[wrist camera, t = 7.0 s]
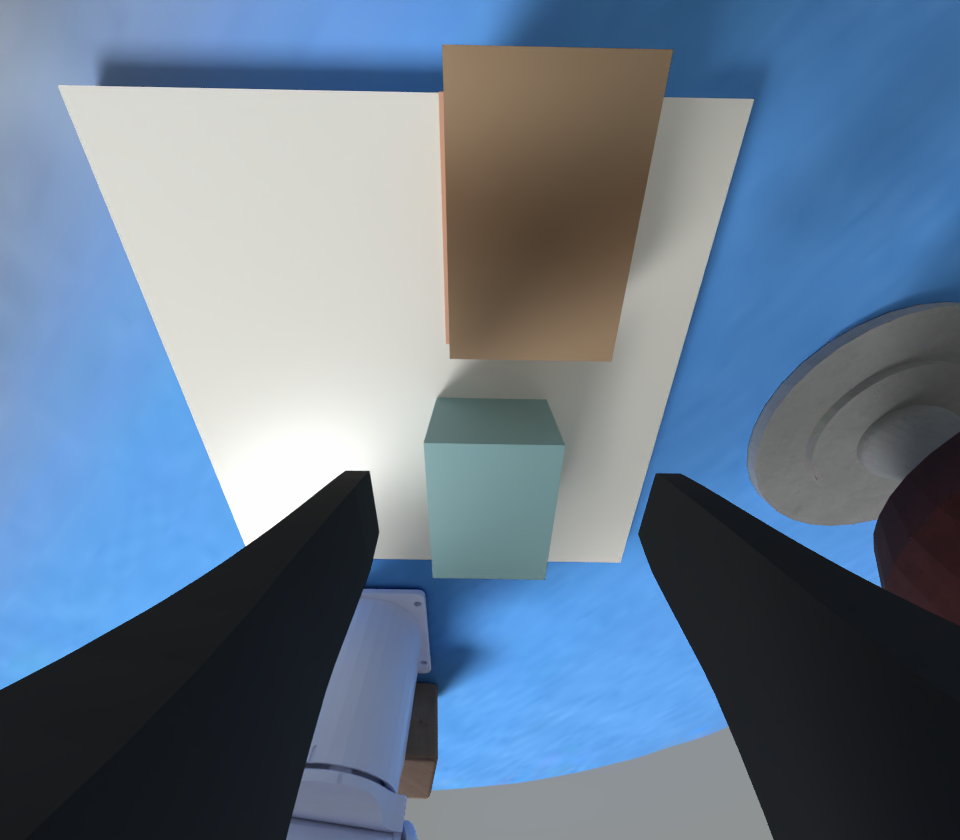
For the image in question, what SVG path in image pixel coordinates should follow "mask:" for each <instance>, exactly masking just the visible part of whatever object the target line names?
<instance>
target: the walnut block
mask: <svg viewBox="0 0 960 840" xmlns="http://www.w3.org/2000/svg"><path fill="white" fill-rule="evenodd" d="M672 54H673V49H626V48H578V47H531V46H483V45H442V55H443V97H444V139H445V180H446V222H447V264H448V306H449V348H450V359H479V360H535V361H592V362H612V357H613V352H614V347H615V342H616V337H617V332H618V327H619V322H620V316H621V311H622V306H623V301H624V296H625V291H626V286H627V281H628V276H629V271H630V266H631V261H632V256H633V251H634V246H635V241H636V236H637V231H638V226H639V220H640V215H641V210H642V205H643V200H644V195H645V190H646V185H647V180H648V175H649V170H650V165H651V160H652V155H653V150H654V145H655V140H656V135H657V129H658V124H659V119H660V114H661V109H662V104H663V99H664V94H665V89H666V84H667V79H668V74H669V69H670V64H671V59H672Z"/></svg>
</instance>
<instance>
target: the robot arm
mask: <svg viewBox="0 0 960 840" xmlns="http://www.w3.org/2000/svg"><path fill="white" fill-rule="evenodd" d="M638 535H639V538H640V541H641V544H642V546H643V549H644V552H645V555H646V558H647V560H648V563H649V565H650V568H651V570H652V573H653V575H654V577H655V579H656V581H657V583H658V585H659V587H660V589H661V590H662V592H663V594H664V596H665V598H666V600H667V602H668V604H669V606H670V608H671V610H672V612H673V613H674V615H675V617H676V619H677V621H678V623H679V625H680V627H681V629H682V630H683V632H684V634H685V636H686V638H687V640H688V642H689V644H690V646H691V647H692V649H693V651H694V653H695V655H696V657H697V659H698V661H699V663H700V665H701V666H702V668H703V670H704V672H705V674H706V677H707V679H708V681H709V683H710V685H711V687H712V689H713V691H714V693H715V695H716V698H717V700H718V702H719V705H720V707H721V709H722V712H723V714H724V716H725V719H726V721H727V724H728V726H729V728H730V731H731V733H732V735H733V738H734V740H735V742H736V745H737V747H738V749H739V752H740V754H741V757H742V760H743V762H744V764H745V767H746V770H747V772H748V775H749V777H750V780H751V782H752V785H753V787H754V790H755V792H756V795H757V797H758V800H759V802H760V804H761V807H762V809H763V812H764V815H765V817H766V820H767V823H768V826H769V828H770V831H771V834H772V836H773V839H774V840H960V626H959V625H957V624H955V623H953V622H950V621H948V620H946V619H944V618H942V617H940V616H938V615H935V614H933V613H931V612H929V611H927V610H925V609H923V608H921V607H919V606H917V605H915V604H913V603H911V602H909V601H907V600H905V599H903V598H901V597H899V596H897V595H895V594H893V593H891V592H889V591H887V590H885V589H883V588H881V587H879V586H877V585H875V584H873V583H871V582H869V581H867V580H865V579H863V578H861V577H860V576H858V575H856V574H854V573H852V572H850V571H848V570H846V569H844V568H843V567H841V566H839V565H837V564H835V563H834V562H832V561H830V560H828V559H826V558H825V557H823V556H821V555H819V554H817V553H816V552H814V551H812V550H810V549H808V548H807V547H805V546H803V545H801V544H800V543H798V542H796V541H794V540H793V539H791V538H789V537H787V536H786V535H784V534H782V533H781V532H779V531H777V530H776V529H774V528H772V527H770V526H769V525H767V524H765V523H764V522H762V521H760V520H759V519H757V518H755V517H754V516H752V515H750V514H749V513H747V512H746V511H744V510H742V509H741V508H739V507H737V506H736V505H734V504H732V503H731V502H729V501H727V500H726V499H724V498H722V497H721V496H719V495H717V494H716V493H714V492H712V491H711V490H709V489H707V488H706V487H704V486H702V485H701V484H699V483H697V482H695V481H693V480H692V479H690V478H688V477H686V476H684V475H682V474H668V473H656V475H655V478H654V482H653V485H652V488H651V492H650V495H649V499H648V502H647V506H646V509H645V513H644V516H643V519H642V523H641V526H640V530H639V533H638ZM378 537H379V526H378V519H377V513H376V507H375V501H374V494H373V488H372V482H371V476H370V471H344V472H343V473H341V474H340V475H339V476H337V477H336V478H335V479H333V480H332V481H331V482H330V483H328V484H327V485H326V486H325V487H323V488H322V489H321V490H319V491H318V492H317V493H316V494H314V495H313V496H312V497H311V498H309V499H308V500H307V501H306V502H304V503H303V504H302V505H301V506H299V507H298V508H297V509H295V510H294V511H293V512H292V513H290V514H289V515H288V516H286V517H285V518H284V519H282V520H281V521H280V522H279V523H277V524H276V525H275V526H273V527H272V528H271V529H269V530H268V531H266V532H265V533H264V534H262V535H261V536H259V537H258V538H257V539H255V540H254V541H252V542H251V543H250V544H248V545H247V546H245V547H244V548H243V549H241V550H240V551H239V552H237V553H236V554H234V555H233V556H232V557H230V558H229V559H227V560H226V561H224V562H223V563H221V564H220V565H218V566H217V567H215V568H214V569H212V570H211V571H209V572H208V573H206V574H205V575H203V576H202V577H200V578H199V579H197V580H195V581H194V582H192V583H191V584H189V585H187V586H186V587H184V588H183V589H181V590H179V591H178V592H176V593H175V594H173V595H171V596H170V597H168V598H167V599H165V600H163V601H162V602H160V603H158V604H157V605H155V606H153V607H152V608H150V609H148V610H147V611H145V612H143V613H141V614H139V615H138V616H136V617H134V618H132V619H131V620H129V621H127V622H125V623H123V624H122V625H120V626H118V627H116V628H115V629H113V630H111V631H109V632H108V633H106V634H104V635H102V636H100V637H99V638H97V639H95V640H93V641H92V642H90V643H88V644H86V645H84V646H83V647H81V648H79V649H77V650H76V651H74V652H72V653H70V654H68V655H66V656H65V657H63V658H61V659H59V660H57V661H55V662H53V663H51V664H50V665H48V666H46V667H44V668H42V669H40V670H38V671H36V672H34V673H32V674H30V675H28V676H27V677H25V678H23V679H21V680H19V681H17V682H15V683H13V684H11V685H9V686H7V687H5V688H3V689H1V690H0V840H418V839H417V835H416V831H415V828H414V826H413V824H412V823H411V822H410V821H408V820H404V816H405V808H406V801H407V797H406V796H405V795H401V794H397V793H398V787H399V780H400V777H401V774H402V770H403V766H404V761H405V754H406V747H407V741H408V734H409V727H410V720H411V714H412V707H413V700H414V694H415V687H416V680H417V673H429V672H430V671H431V656H430V644H429V633H428V621H427V609H426V598H425V593H424V592H423V591H421V590H410V589H364V586H365V583H366V581H367V578H368V575H369V572H370V569H371V566H372V562H373V558H374V554H375V550H376V545H377V541H378Z"/></svg>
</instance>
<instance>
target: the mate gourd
mask: <svg viewBox="0 0 960 840" xmlns="http://www.w3.org/2000/svg"><path fill="white" fill-rule="evenodd" d="M747 467H748V472H749V476H750V481H751V482H752V484H753V486H754V488H755V489H756V491H757V493H758V494H759V495H760V496H761V497H762V498H763V499H764V500H765V501H766V502H768V503H769V504H770V505H771V506H772V507H773V508H774V509H775V510H776V511H777V512H779V513H781V514H783V515H785V516H787V517H789V518H791V519H793V520H796V521H800V522H804V523H808V524H814V525H827V526H833V525H848V524H856V523H861V522H866V521H871V520H876V519H878V520H877V523H876V527H875V530H874V552H875V557H876V562H877V567H878V572H879V577H880V582H881V587H882V588H883V589H885V590H887V591H889V592H891V593H893V594H895V595H897V596H899V597H901V598H903V599H905V600H907V601H909V602H911V603H913V604H915V605H917V606H919V607H921V608H923V609H925V610H927V611H929V612H931V613H933V614H935V615H938V616H940V617H942V618H944V619H946V620H948V621H950V622H953V623H955V624H957V625H959V626H960V303H956V302H940V303H930V304H919V305H915V306H911V307H908V308H904V309H900V310H897V311H893V312H889V313H886V314H884V315H881V316H879V317H877V318H874V319H872V320H870V321H867V322H865V323H863V324H860V325H858V326H856V327H854V328H853V329H851V330H849V331H847V332H846V333H844V334H842V335H841V336H839V337H837V338H836V339H834V340H832V341H831V342H829V343H827V344H826V345H825V346H823V347H822V348H821V349H820V350H818V351H817V352H816V353H814V354H813V355H812V356H810V357H809V358H808V359H807V360H805V361H804V362H803V363H802V364H801V365H800V366H799V367H798V368H797V369H796V370H795V371H794V372H793V373H792V374H791V375H790V376H789V377H788V378H787V379H786V380H785V381H784V382H783V383H782V384H781V385H780V386H779V388H778V389H777V390H776V392H775V393H774V394H773V396H772V397H771V398H770V400H769V401H768V402H767V404H766V405H765V407H764V408H763V410H762V412H761V414H760V416H759V418H758V420H757V422H756V424H755V426H754V428H753V431H752V435H751V438H750V442H749V445H748V455H747Z"/></svg>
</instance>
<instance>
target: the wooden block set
mask: <svg viewBox="0 0 960 840" xmlns="http://www.w3.org/2000/svg"><path fill="white" fill-rule="evenodd" d="M437 760H438V706H437V685H436V684H430V683H421V682H416V687H415V694H414V700H413V707H412V714H411V720H410V727H409V734H408V741H407V747H406V754H405V761H404V766H403V770H402V774H401V777H400V780H399V787H398V793H397V794H401V795H405V796H406V797H407V798H422V799H426V798H428V797H429V796H430V793H431V789H432V784H433V779H434V774H435V769H436V764H437Z"/></svg>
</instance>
